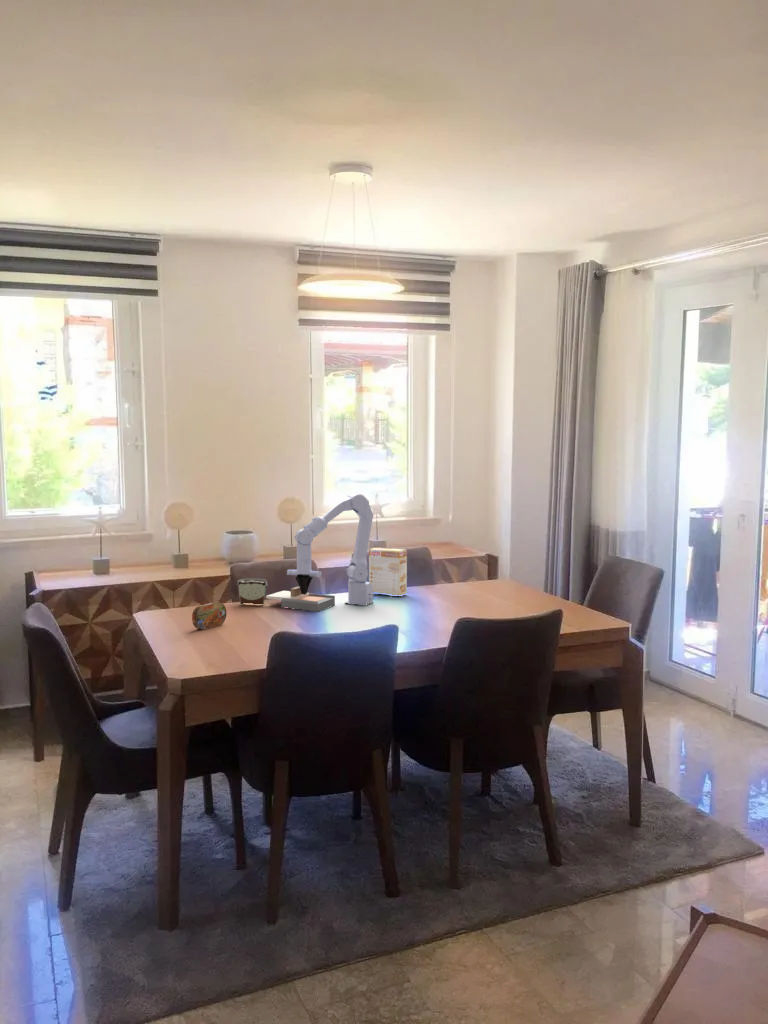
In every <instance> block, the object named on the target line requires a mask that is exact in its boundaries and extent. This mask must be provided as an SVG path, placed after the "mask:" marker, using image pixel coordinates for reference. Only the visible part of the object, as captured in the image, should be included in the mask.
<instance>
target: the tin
mask: <svg viewBox="0 0 768 1024" xmlns="http://www.w3.org/2000/svg"><path fill="white" fill-rule="evenodd" d="M191 617H192V618H191V619H192V620H191V621H192V622H191V623H192V624H193V627H194V628H195V629H197V630H203V631H206V630H209V629H212V628H216V626H217V627H220V626H222V625H223V624H224V622H225V621H226V618H227V608H226V606H225V604H224V603H222V602H220V601H216V602H215V601H214V602H209V603H205V604H202V605H198V606H196V607H195V608H194V609H193V611H192V615H191ZM219 625H220V626H219ZM205 629H206V630H205Z"/></svg>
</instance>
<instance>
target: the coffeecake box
mask: <svg viewBox="0 0 768 1024" xmlns="http://www.w3.org/2000/svg"><path fill="white" fill-rule="evenodd" d="M407 565H408V550H407V549H403V548H392V547H391V548H390V547H389V548H388V547H372V548H368V582H370V583H372V586H373V592H379V593H386V594H392V595H402V594H405V593H407V592H408V591H407V589H408V587H407V585H408V582H407V581H408V575H407V574H408V566H407Z"/></svg>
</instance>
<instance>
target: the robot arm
mask: <svg viewBox="0 0 768 1024" xmlns="http://www.w3.org/2000/svg"><path fill="white" fill-rule="evenodd" d="M345 511H346V512H347V511H353V512H355V513H356V516H358V518H359V519H358V525H357V526H358V527H357V532H356V536H355V537H356V538H355V543H354V550H353V556H352V557H351V560H350V563H349V565H348V566H347V568H346V574H347V576H348V577H349V578H348V583H347V584H348V585H347V588H348V589H347V590H348V594H347V595H348V597H347V598H348V600H347V601H345V602H344V603H348V604H347V605H354V604H359V605H358V606H367V605H366V604H368V605H370V604H372V603H371V602H373V601H374V599H373V598H374V594H373V586H372V583H370V582H369V581H367V578H369V570H368V562H367V555H368V550H369V548H368V547H369V542H370V537H371V531H372V526H373V525H372V524H373V518H374V513H373V511H372V507H371V506H370V500H368V498H367V497H366V496H365V495H363V494H360V493H355V492H351V493H348V494H347V496H344V497H343V498H341V499H340V500H339V501H338V502H337V503H336V504H335V505H334V506H333V507H331V508H330V509H329V510H328V511H327V512H325V513H324V515H322V516H320V515H318V516H316V517H315V516H314V517H313V518H312V520H311V521H310V522H309V523H308V524H306V525H303V528H299V529H298V530H297V531H296V532H295V533H296V534H295V535H294V538H295V541H296V569H287V570H286V575H287V576H295V581H296V583H297V584H298V586H300V590H301V594H303V595H305V594H307V593H308V591H309V587H310V584H311V582H312V580H313V578H315V577H316V578H322V571H316V570H312V543H313V540H314V538H316V537H317V536H318V535H319V534H321V533H322V532H323V531H325V530H326V529H327V528H328V524H329V523H330V522H331V521H332V520H334V519H335V518H336V517H338V516H339V515H341V514H342V513H344V512H345ZM369 603H370V604H369ZM373 603H374V602H373Z"/></svg>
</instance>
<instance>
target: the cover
mask: <svg viewBox="0 0 768 1024" xmlns="http://www.w3.org/2000/svg"><path fill="white" fill-rule="evenodd" d="M309 593H310V592H307V594H305V595H303V594H301V590H300V586H299V585H298V586H295V587H292V588H290V591H289V590H281V591H277V592H274V593H271V594H267V595H265V598H266V599H269V600H279V601H282V600H281V598H286V599H300V598H303V597H306V596H309Z"/></svg>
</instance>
